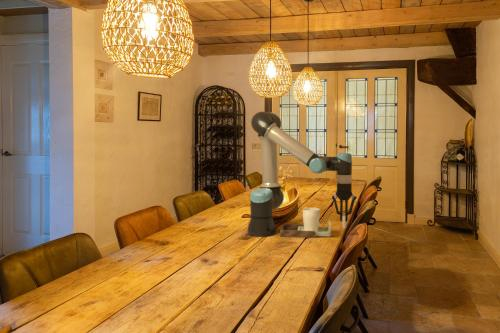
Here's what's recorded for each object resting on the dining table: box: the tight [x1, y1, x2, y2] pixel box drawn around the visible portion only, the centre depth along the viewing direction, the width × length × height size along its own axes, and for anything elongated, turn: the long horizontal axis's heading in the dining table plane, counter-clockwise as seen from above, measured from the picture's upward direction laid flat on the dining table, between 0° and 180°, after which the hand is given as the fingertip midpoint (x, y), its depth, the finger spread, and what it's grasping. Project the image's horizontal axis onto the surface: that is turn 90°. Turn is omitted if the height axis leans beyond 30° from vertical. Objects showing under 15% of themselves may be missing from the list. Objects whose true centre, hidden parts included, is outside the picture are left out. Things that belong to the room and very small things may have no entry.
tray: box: [298, 219, 332, 237], centre depth 237 cm, size 17×13×6 cm
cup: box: [302, 207, 321, 232], centre depth 237 cm, size 9×9×12 cm
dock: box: [279, 223, 316, 239], centre depth 238 cm, size 18×16×3 cm
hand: (343, 227), depth 235 cm, fingers closed
